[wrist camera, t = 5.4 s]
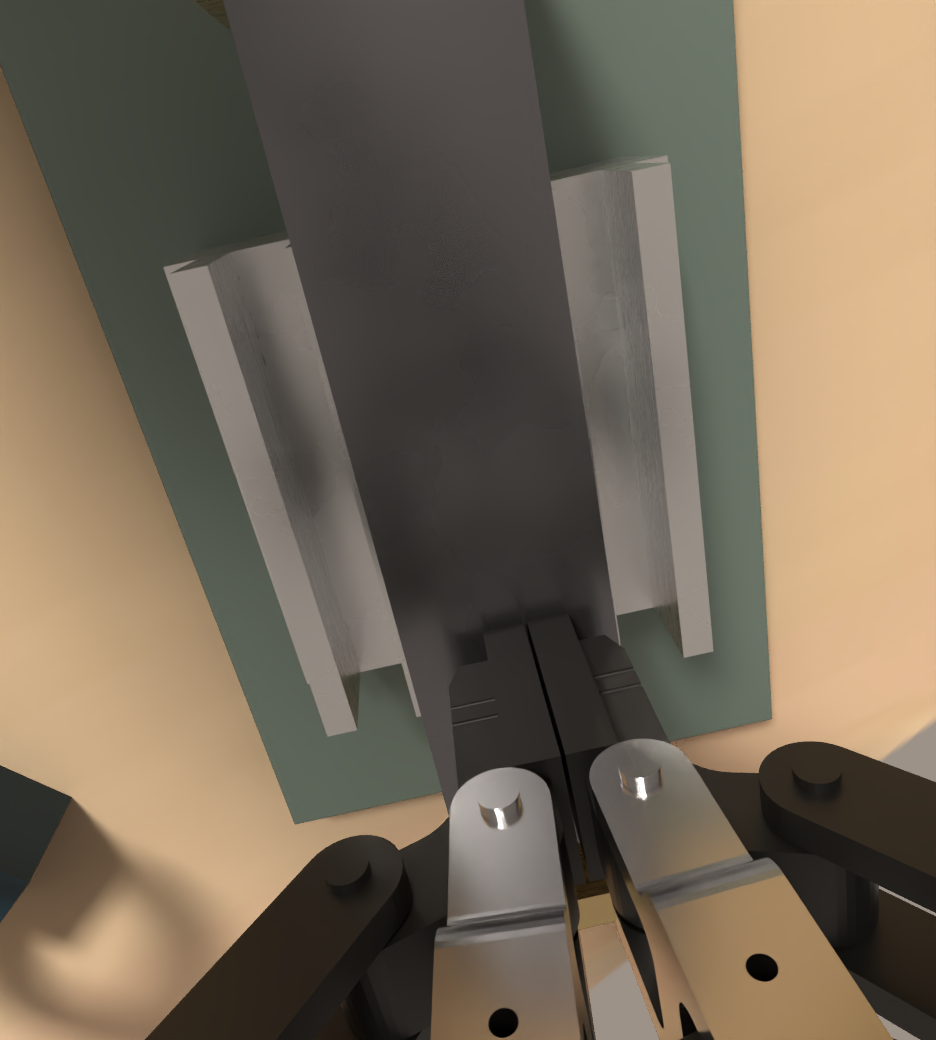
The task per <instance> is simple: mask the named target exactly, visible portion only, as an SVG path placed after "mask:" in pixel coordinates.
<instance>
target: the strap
mask: <svg viewBox="0 0 936 1040" xmlns="http://www.w3.org/2000/svg"><path fill="white" fill-rule="evenodd" d="M223 3H224V6H225V10H226V14H227V17H228V21H229V24H230V28H231V32H232V35H233V39H234V42H235V46H236V50H237V53H238V57H239V60H240V64H241V68H242V71H243V75H244V78H245V82H246V86H247V89H248V93H249V97H250V100H251V104H252V107H253V111H254V115H255V118H256V122H257V125H258V129H259V133H260V136H261V140H262V143H263V147H264V151H265V154H266V158H267V161H268V165H269V169H270V172H271V176H272V179H273V183H274V187H275V190H276V194H277V197H278V201H279V205H280V208H281V212H282V216H283V219H284V223H285V226H286V230H287V234H288V237H289V241H290V244H291V248H292V252H293V255H294V259H295V262H296V266H297V270H298V273H299V277H300V280H301V284H302V288H303V291H304V295H305V298H306V302H307V306H308V309H309V313H310V316H311V320H312V324H313V327H314V331H315V335H316V338H317V342H318V345H319V349H320V353H321V356H322V360H323V363H324V367H325V371H326V374H327V378H328V381H329V385H330V389H331V392H332V396H333V399H334V403H335V407H336V410H337V414H338V417H339V421H340V425H341V428H342V432H343V435H344V439H345V443H346V446H347V450H348V454H349V457H350V461H351V464H352V468H353V472H354V475H355V479H356V482H357V486H358V490H359V493H360V497H361V500H362V504H363V508H364V511H365V515H366V518H367V522H368V526H369V529H370V533H371V536H372V540H373V544H374V547H375V551H376V554H377V558H378V562H379V565H380V569H381V573H382V576H383V580H384V583H385V587H386V591H387V594H388V598H389V601H390V605H391V609H392V612H393V616H394V619H395V623H396V627H397V630H398V634H399V637H400V641H401V645H402V648H403V652H404V655H405V659H406V663H407V666H408V670H409V674H410V677H411V681H412V684H413V688H414V692H415V695H416V699H417V702H418V706H419V710H420V713H421V717H422V720H423V724H424V728H425V731H426V735H427V738H428V742H429V746H430V749H431V753H432V756H433V760H434V764H435V767H436V771H437V774H438V778H439V782H440V785H441V789H442V793H443V796H444V800H445V803H446V807H447V811H448V814H449V816H450V807H451V803H452V800H453V798H454V796H455V794H456V793H457V791H458V780H457V770H456V760H455V749H454V739H453V725H452V718H451V707H450V697H449V685H450V683H451V681H452V679H453V677H454V675H455V673H456V671H457V669H458V667H459V666H464V665H468V664H473V663H478V662H482V661H487V660H488V657H487V652H486V646H485V641H484V635H483V632H484V631H489V630H493V629H498V628H503V627H507V626H512V625H516V624H521V623H524V627H525V630H526V634H527V637H528V641H529V644H530V648H531V652H532V647H531V642H530V637H529V632H528V627H527V622H529V621H534V620H539V619H543V618H548V617H552V616H557V615H562V614H566V613H568V615H569V617H570V620H571V622H572V625H573V628H574V630H575V633H576V635H577V638H578V640H583V639H587V638H592V637H597V636H601V635H606V636H607V637H608V638H610V639H611V640H613V641H614V642H616V643H617V644H619V639H618V632H617V626H616V619H615V612H614V605H613V599H612V592H611V585H610V578H609V572H608V565H607V558H606V551H605V545H604V538H603V531H602V524H601V518H600V511H599V504H598V497H597V491H596V484H595V477H594V471H593V464H592V457H591V450H590V444H589V437H588V430H587V423H586V417H585V410H584V403H583V396H582V390H581V383H580V376H579V369H578V363H577V356H576V349H575V342H574V336H573V329H572V322H571V315H570V309H569V302H568V295H567V288H566V282H565V275H564V268H563V262H562V255H561V248H560V241H559V235H558V228H557V221H556V214H555V208H554V201H553V194H552V187H551V181H550V174H549V167H548V160H547V154H546V147H545V140H544V133H543V127H542V120H541V113H540V106H539V100H538V93H537V86H536V79H535V73H534V66H533V59H532V53H531V46H530V39H529V32H528V26H527V19H526V12H525V5H524V0H223ZM532 655H533V652H532ZM533 659H534V657H533ZM573 821H574V820H573ZM574 826H575V824H574ZM575 831H576V828H575ZM576 836H577V841H578V843H579V839H578V835H577V831H576Z"/></svg>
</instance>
